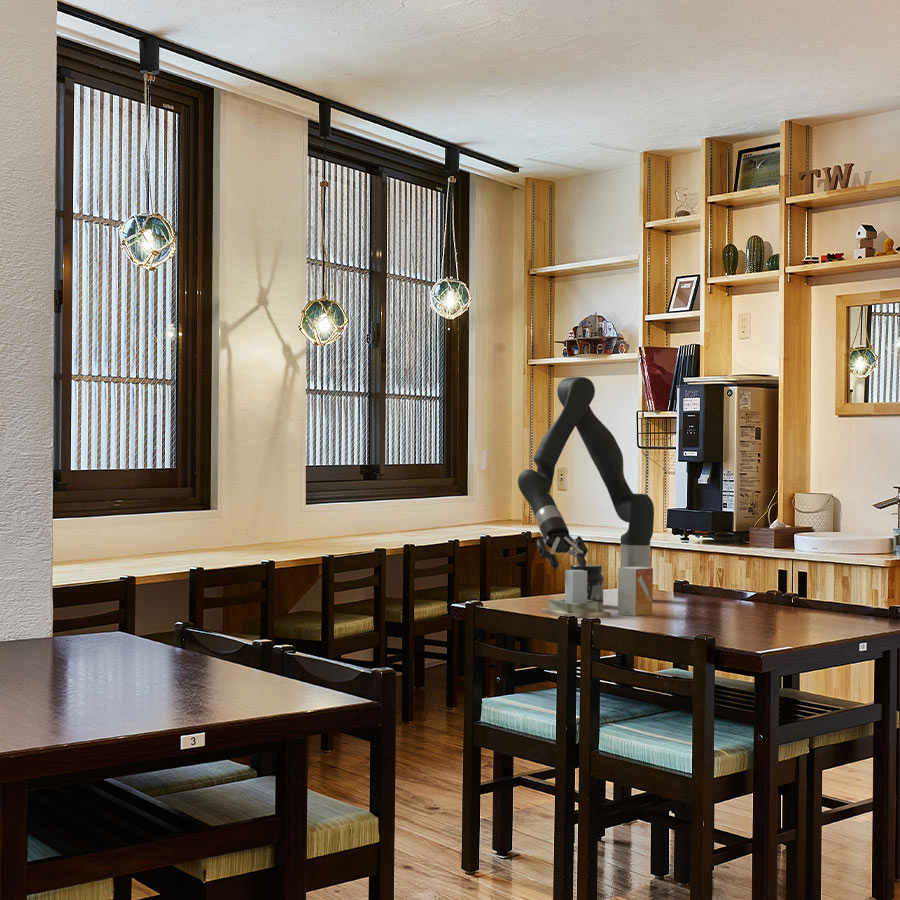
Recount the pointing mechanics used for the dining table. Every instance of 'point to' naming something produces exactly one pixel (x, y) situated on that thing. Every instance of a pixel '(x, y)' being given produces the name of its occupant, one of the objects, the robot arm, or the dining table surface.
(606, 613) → the cradle jig
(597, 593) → the supplement container
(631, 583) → the small box
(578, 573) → the block
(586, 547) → the robot arm
